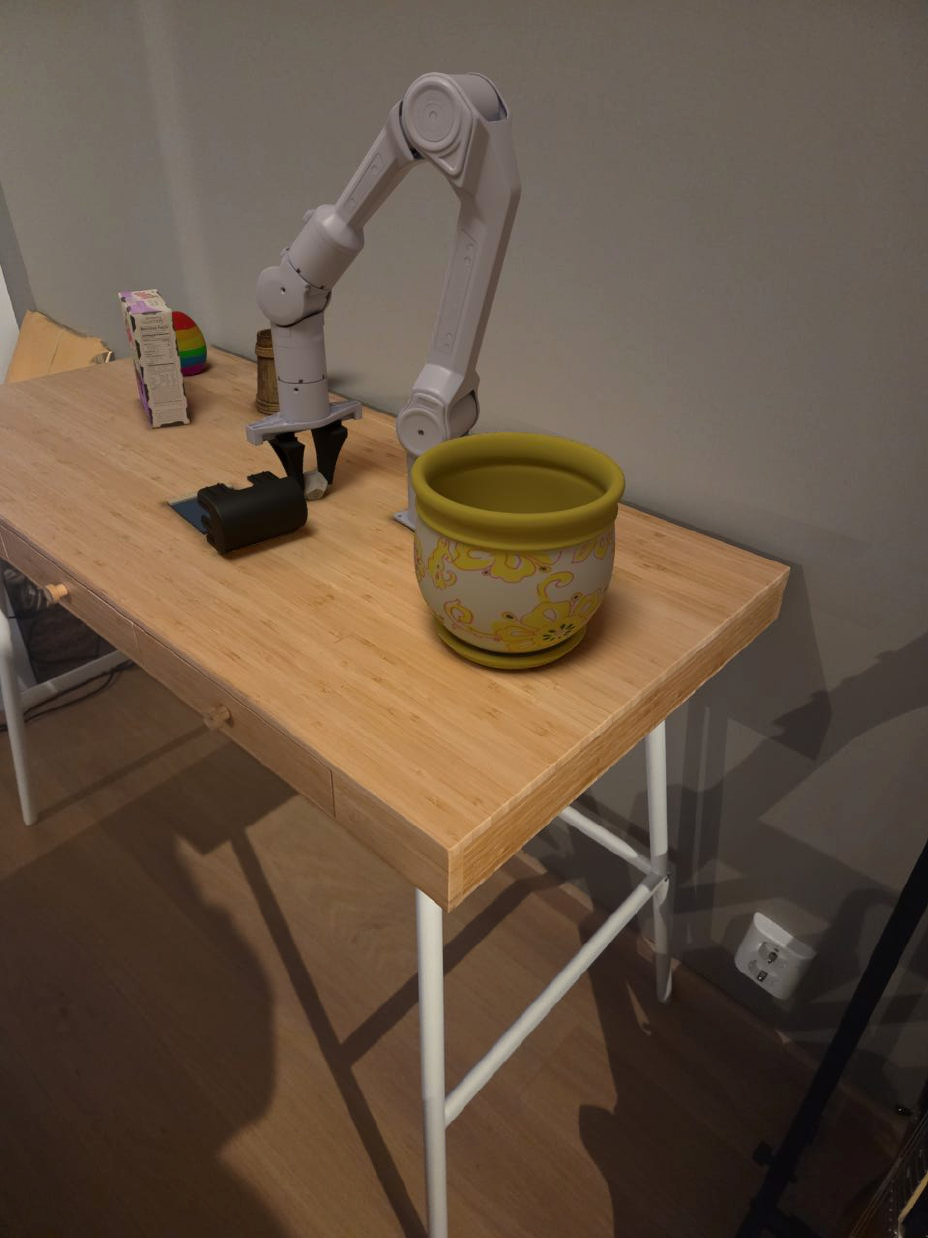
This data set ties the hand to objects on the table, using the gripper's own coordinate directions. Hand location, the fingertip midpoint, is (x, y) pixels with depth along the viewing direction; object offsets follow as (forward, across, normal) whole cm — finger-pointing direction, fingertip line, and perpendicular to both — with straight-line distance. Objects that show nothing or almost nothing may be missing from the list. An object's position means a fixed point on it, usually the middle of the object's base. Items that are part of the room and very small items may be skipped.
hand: (312, 486), depth 102 cm
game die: (+2, 0, 0) cm, 2 cm away
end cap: (+2, +11, +6) cm, 13 cm away
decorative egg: (+2, -9, -57) cm, 58 cm away
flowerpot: (+2, +1, +37) cm, 37 cm away
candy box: (+2, +2, -40) cm, 40 cm away
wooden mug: (+2, -16, -31) cm, 35 cm away
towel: (+1, +11, -4) cm, 12 cm away
